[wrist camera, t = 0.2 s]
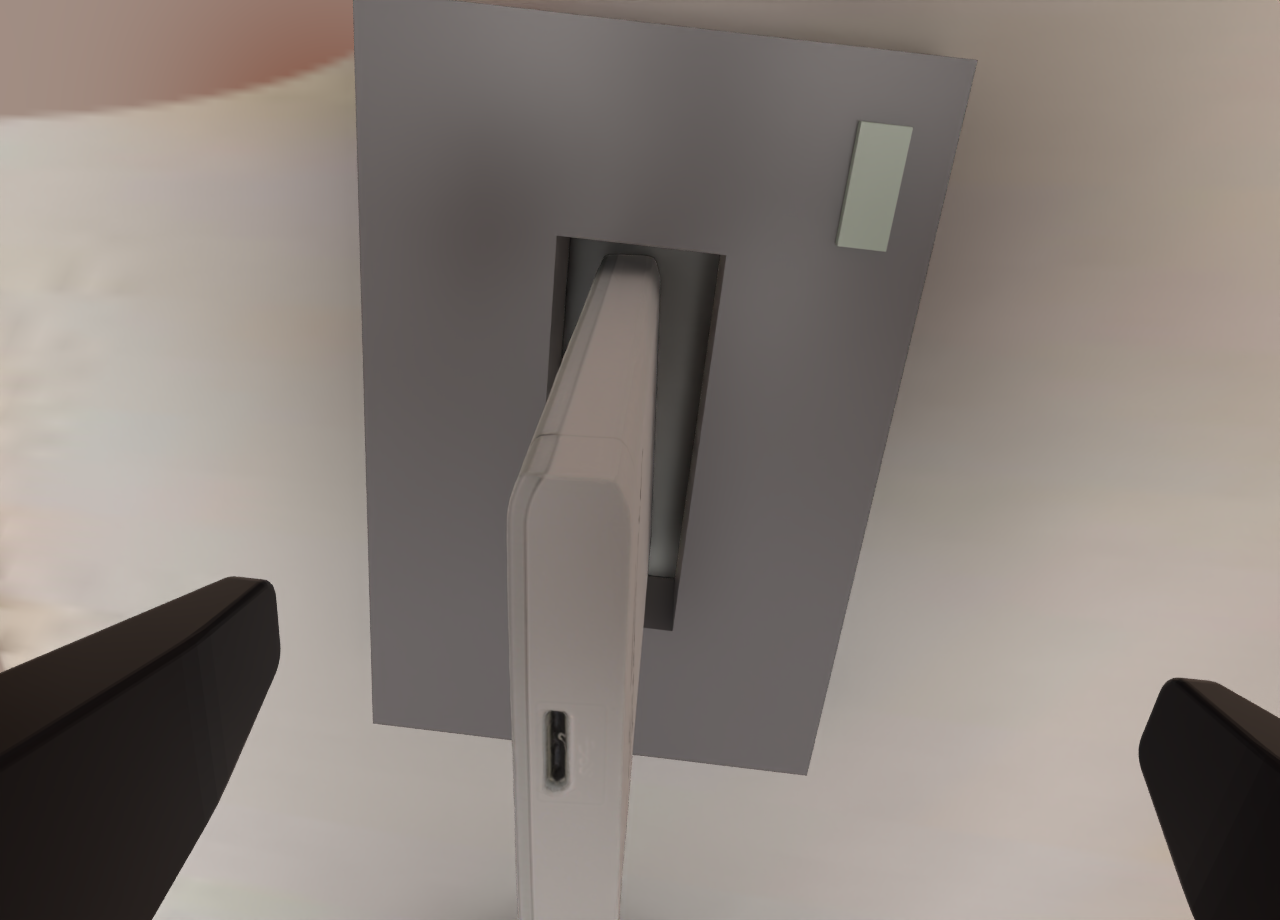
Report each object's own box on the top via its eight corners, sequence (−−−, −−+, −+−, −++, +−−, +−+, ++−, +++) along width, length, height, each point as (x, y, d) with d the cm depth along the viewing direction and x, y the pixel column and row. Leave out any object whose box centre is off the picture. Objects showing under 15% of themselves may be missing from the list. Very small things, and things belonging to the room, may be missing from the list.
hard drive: (593, 548, 25) (509, 960, 14) (597, 251, 21) (488, 470, 10) (653, 551, 25) (619, 968, 13) (665, 254, 21) (634, 478, 10)
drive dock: (797, 714, 27) (807, 783, 24) (400, 666, 27) (369, 731, 24) (944, 59, 19) (982, 60, 17) (393, -4, 19) (347, -12, 17)
